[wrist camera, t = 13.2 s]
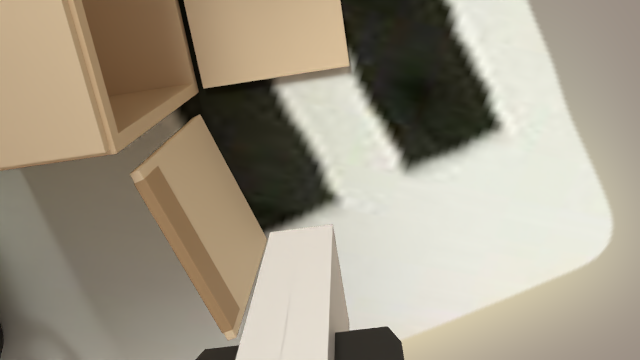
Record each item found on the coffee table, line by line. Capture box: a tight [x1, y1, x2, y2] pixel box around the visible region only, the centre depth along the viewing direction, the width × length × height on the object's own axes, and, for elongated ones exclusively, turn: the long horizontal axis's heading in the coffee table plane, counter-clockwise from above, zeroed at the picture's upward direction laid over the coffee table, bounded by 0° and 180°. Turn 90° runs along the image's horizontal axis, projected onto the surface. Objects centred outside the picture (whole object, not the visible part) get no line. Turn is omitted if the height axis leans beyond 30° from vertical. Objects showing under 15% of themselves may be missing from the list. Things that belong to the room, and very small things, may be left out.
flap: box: [130, 114, 267, 340], centre depth 28 cm, size 8×1×10 cm, turn 25°
